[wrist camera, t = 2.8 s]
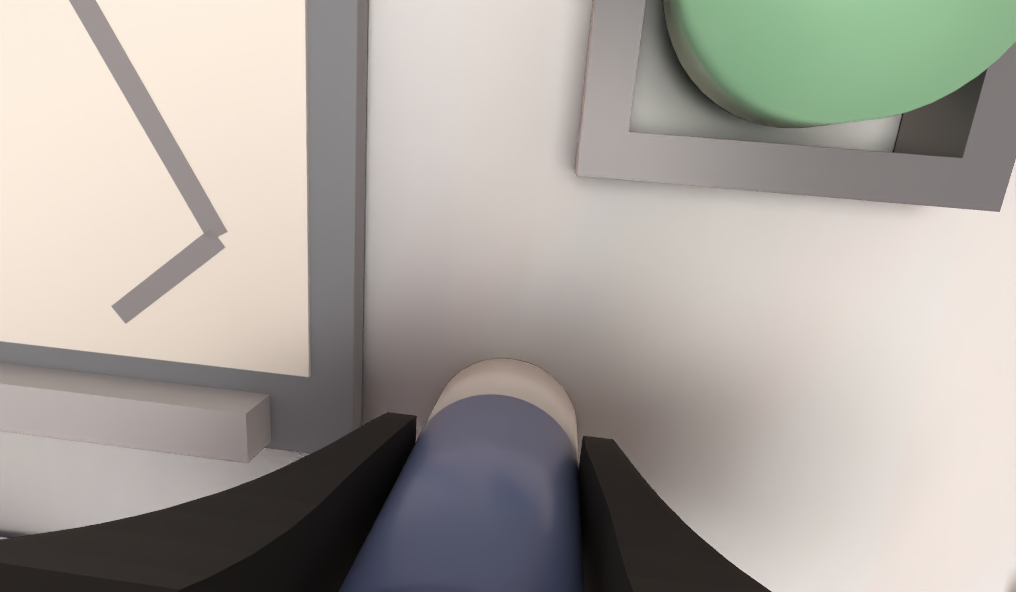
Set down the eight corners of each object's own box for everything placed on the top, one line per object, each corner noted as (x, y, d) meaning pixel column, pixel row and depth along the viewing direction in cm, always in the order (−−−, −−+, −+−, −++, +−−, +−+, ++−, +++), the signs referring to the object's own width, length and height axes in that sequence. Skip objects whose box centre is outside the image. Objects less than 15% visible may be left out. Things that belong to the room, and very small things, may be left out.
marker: (568, 496, 14) (572, 836, 7) (431, 479, 14) (304, 790, 7) (584, 366, 13) (608, 607, 6) (438, 350, 13) (300, 562, 6)
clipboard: (360, 446, 14) (335, 482, 12) (-82, 390, 15) (-158, 418, 13) (374, -374, 10) (337, -473, 8) (-237, -381, 11) (-373, -472, 9)
